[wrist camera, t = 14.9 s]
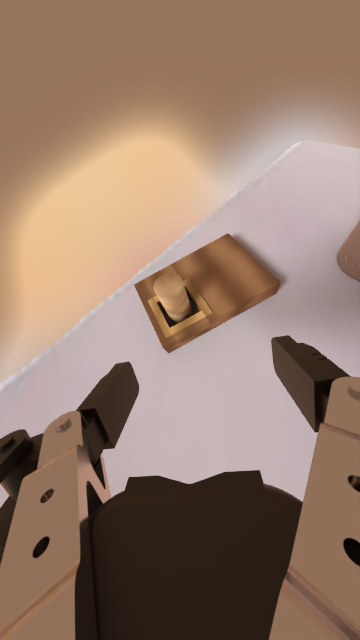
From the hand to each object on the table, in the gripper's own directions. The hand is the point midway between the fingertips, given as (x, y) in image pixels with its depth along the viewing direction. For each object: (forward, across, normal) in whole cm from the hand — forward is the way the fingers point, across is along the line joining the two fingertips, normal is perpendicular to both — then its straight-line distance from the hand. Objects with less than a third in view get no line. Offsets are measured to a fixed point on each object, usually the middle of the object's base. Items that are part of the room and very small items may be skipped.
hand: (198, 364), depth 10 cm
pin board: (+24, 0, +1) cm, 24 cm away
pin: (+21, +4, +3) cm, 22 cm away
